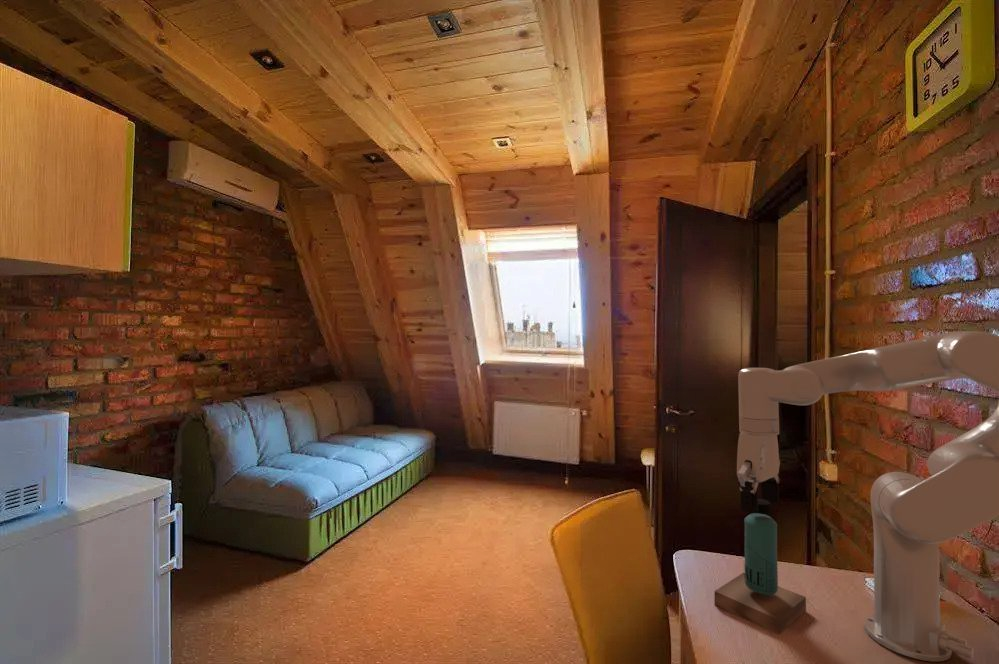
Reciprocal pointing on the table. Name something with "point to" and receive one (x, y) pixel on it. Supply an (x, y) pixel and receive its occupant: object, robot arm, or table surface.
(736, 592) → the walnut plinth
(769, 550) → the beverage bottle
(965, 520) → the robot arm
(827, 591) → the table surface
